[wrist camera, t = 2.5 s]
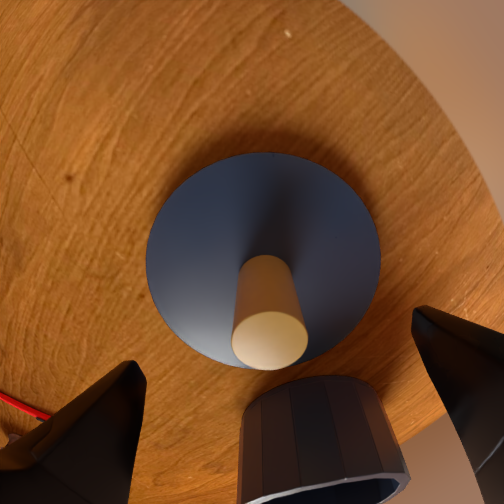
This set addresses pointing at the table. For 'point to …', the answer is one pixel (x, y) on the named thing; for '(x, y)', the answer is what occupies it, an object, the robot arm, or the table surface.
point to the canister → (319, 446)
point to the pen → (25, 408)
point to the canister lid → (263, 260)
